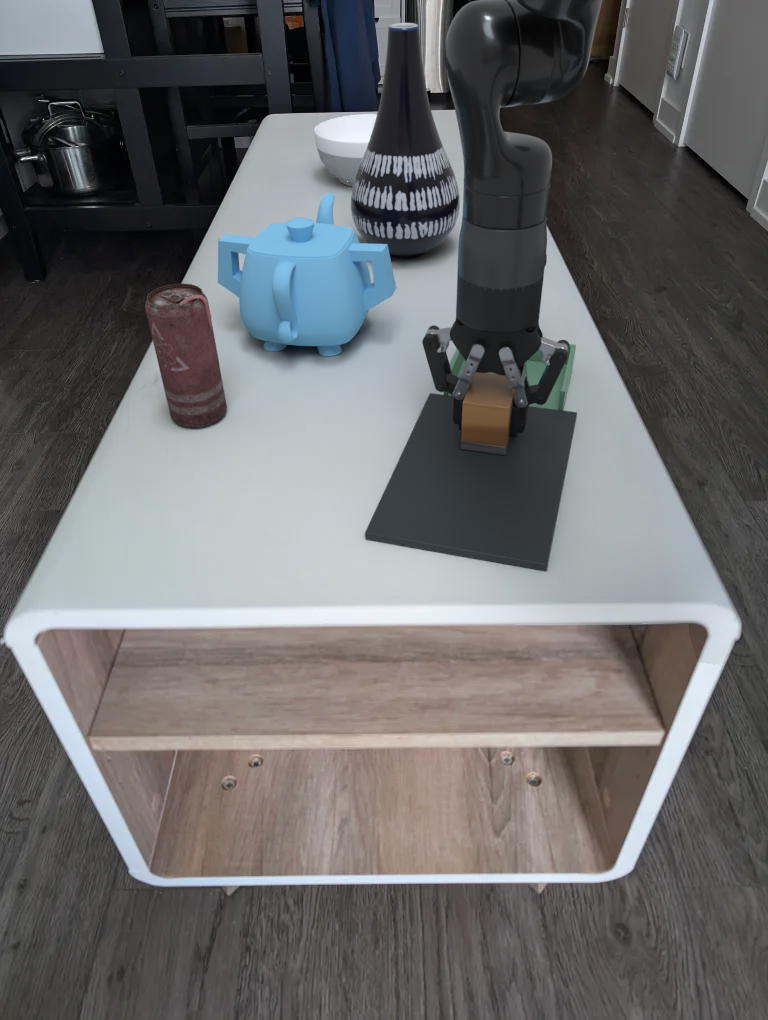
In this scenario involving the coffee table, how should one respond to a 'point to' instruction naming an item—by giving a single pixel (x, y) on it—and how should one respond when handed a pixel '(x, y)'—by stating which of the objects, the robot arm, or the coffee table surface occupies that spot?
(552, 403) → the dustpan
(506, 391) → the eraser
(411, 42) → the vase
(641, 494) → the coffee table surface
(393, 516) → the slate
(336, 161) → the bowl
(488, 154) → the robot arm
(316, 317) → the teapot
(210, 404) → the can
